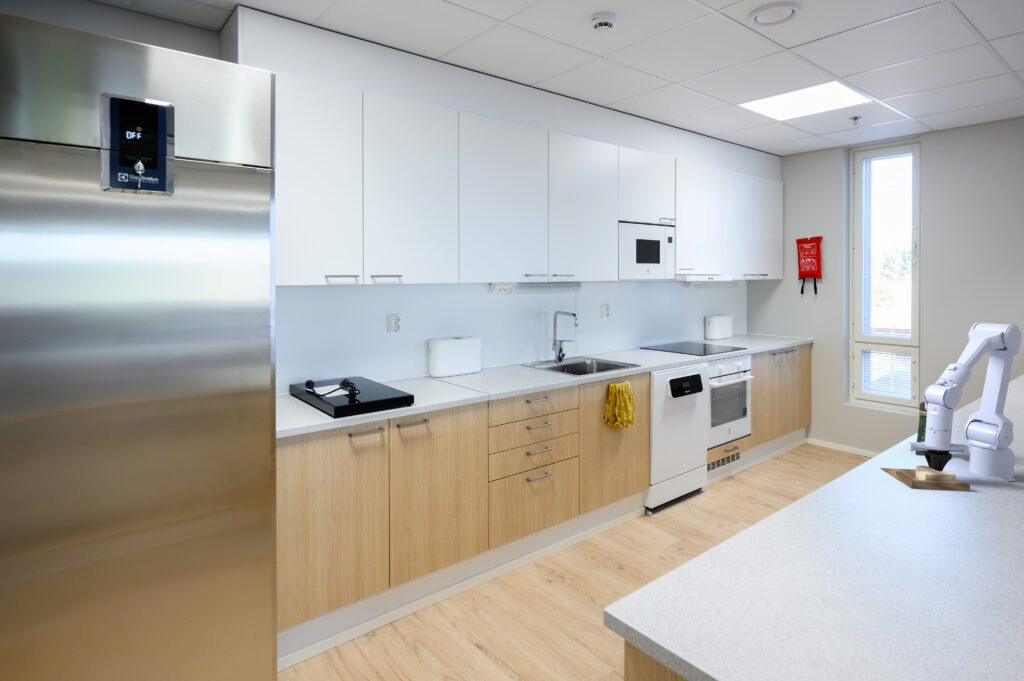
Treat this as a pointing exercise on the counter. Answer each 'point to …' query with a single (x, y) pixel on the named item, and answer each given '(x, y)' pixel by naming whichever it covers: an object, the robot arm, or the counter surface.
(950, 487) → the board
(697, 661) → the counter surface
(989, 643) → the counter surface
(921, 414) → the coffee jar
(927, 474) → the t block
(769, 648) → the counter surface
